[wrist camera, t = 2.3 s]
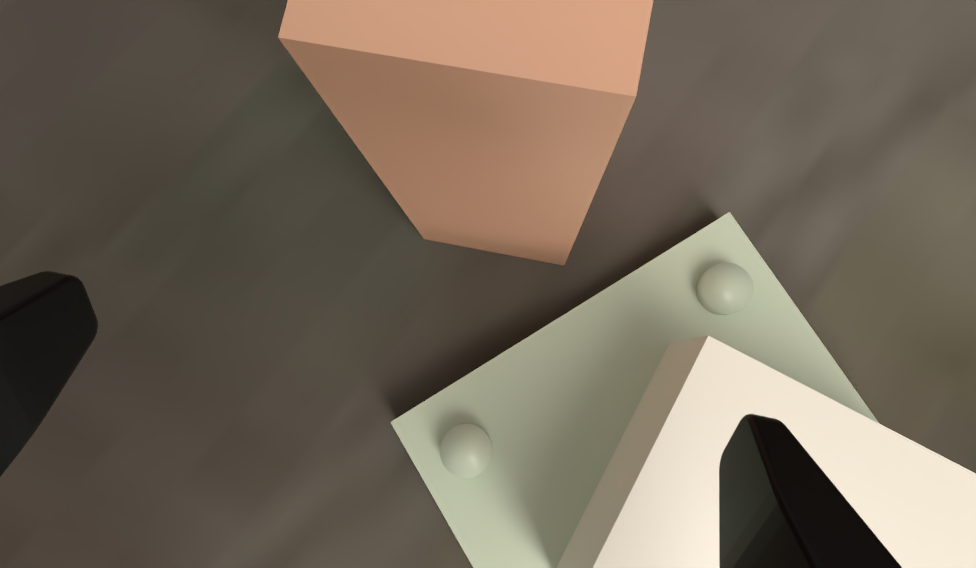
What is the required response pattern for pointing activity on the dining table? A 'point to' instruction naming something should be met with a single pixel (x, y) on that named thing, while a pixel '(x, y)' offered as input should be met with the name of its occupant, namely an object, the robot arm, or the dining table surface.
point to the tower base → (590, 388)
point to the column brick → (479, 106)
